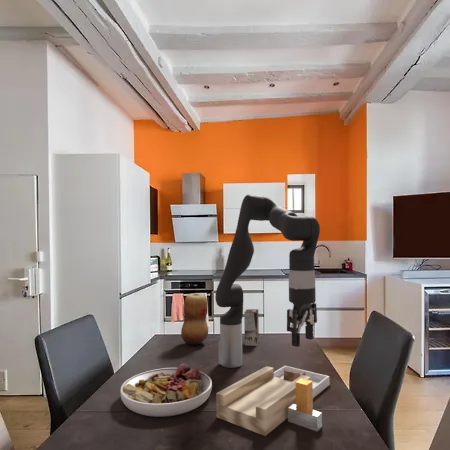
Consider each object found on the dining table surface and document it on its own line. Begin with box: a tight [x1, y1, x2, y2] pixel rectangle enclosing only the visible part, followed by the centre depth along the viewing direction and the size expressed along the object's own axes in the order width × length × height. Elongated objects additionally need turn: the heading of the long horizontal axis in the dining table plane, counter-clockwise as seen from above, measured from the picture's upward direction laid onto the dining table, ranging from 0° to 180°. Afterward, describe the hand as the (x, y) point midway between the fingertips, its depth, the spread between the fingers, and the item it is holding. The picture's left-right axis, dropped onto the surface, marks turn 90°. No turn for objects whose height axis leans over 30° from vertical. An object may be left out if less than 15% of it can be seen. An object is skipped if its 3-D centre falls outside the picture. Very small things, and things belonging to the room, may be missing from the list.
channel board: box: [215, 366, 311, 437], centre depth 113 cm, size 17×28×7 cm, turn 142°
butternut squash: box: [180, 292, 209, 345], centre depth 182 cm, size 14×13×25 cm
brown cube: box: [294, 370, 305, 376], centre depth 130 cm, size 4×4×4 cm
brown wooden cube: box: [283, 370, 300, 381], centre depth 126 cm, size 4×4×4 cm
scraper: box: [287, 378, 323, 432], centre depth 103 cm, size 9×4×12 cm, turn 52°
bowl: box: [120, 362, 213, 417], centre depth 121 cm, size 30×30×8 cm
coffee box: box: [243, 308, 260, 347], centre depth 182 cm, size 9×6×16 cm
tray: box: [274, 365, 330, 399], centre depth 130 cm, size 18×14×3 cm
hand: (302, 342), depth 104 cm, fingers open, 8 cm apart
